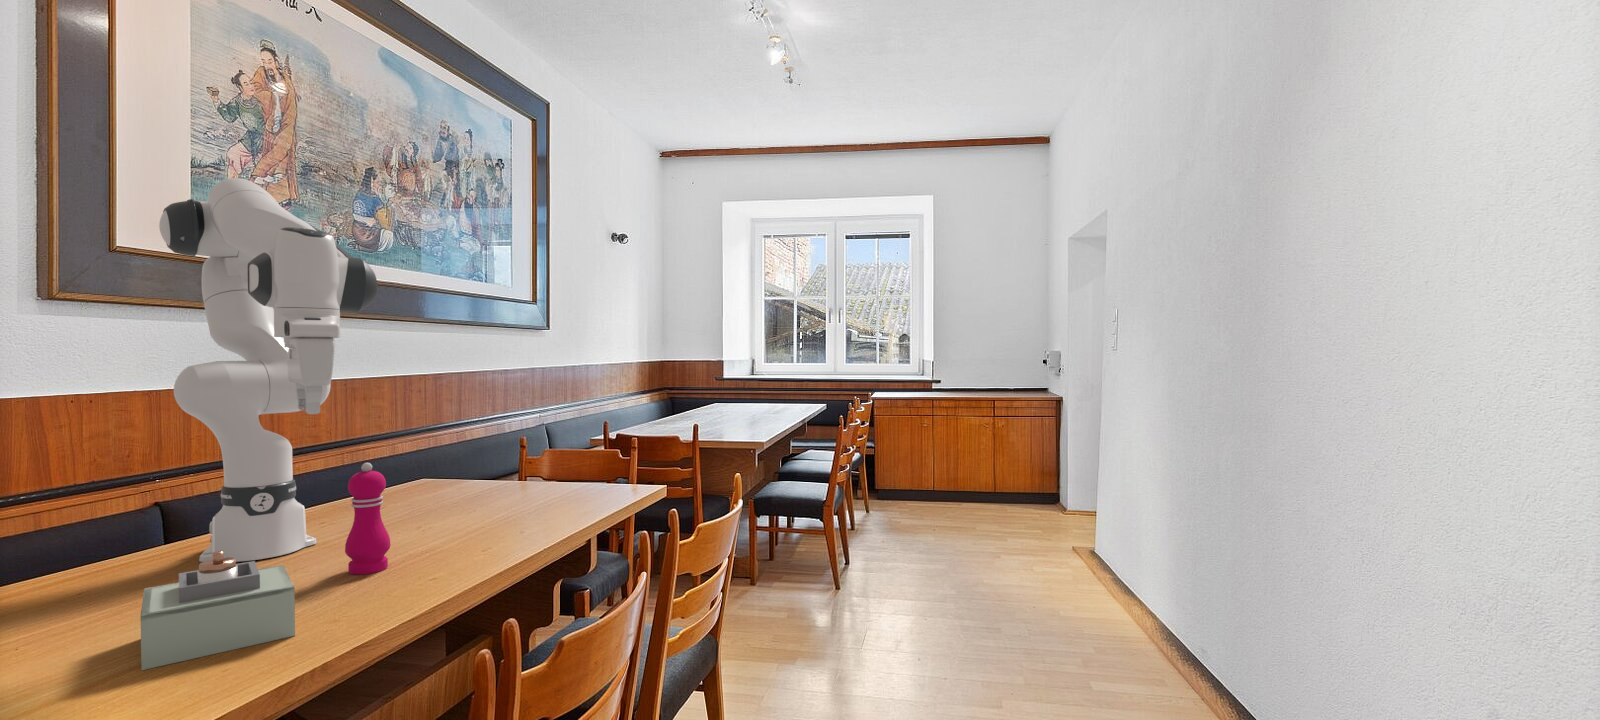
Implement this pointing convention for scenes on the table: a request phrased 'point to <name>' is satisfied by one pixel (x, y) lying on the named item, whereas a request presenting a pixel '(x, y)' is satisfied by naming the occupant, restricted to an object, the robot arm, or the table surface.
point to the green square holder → (215, 614)
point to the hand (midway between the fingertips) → (308, 411)
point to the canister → (217, 568)
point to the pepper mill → (367, 523)
